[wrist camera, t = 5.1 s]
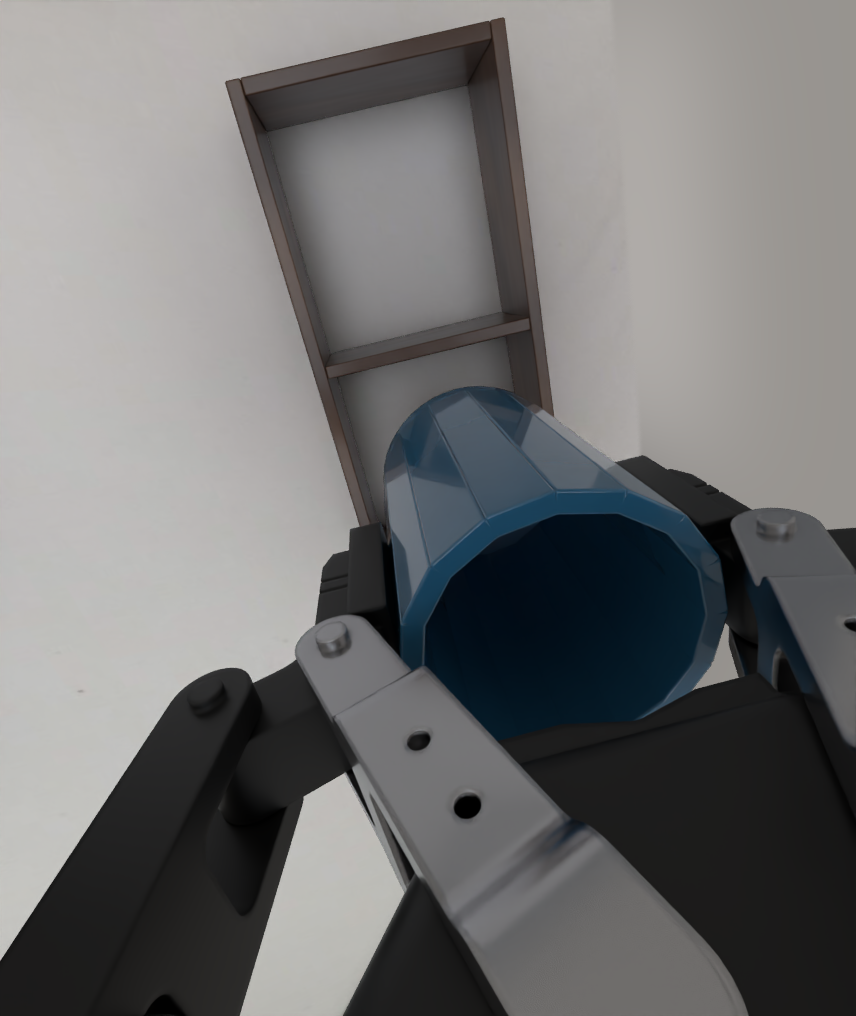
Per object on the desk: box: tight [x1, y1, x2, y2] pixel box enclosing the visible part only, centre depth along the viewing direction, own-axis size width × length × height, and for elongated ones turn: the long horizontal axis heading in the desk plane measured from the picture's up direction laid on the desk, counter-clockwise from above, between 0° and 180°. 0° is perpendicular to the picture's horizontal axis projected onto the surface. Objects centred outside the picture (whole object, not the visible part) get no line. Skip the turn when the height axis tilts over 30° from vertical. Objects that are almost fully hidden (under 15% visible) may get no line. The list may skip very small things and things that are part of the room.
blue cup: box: [383, 386, 728, 741], centre depth 12 cm, size 5×5×8 cm
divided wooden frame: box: [225, 17, 554, 543], centre depth 18 cm, size 15×7×4 cm, turn 12°
